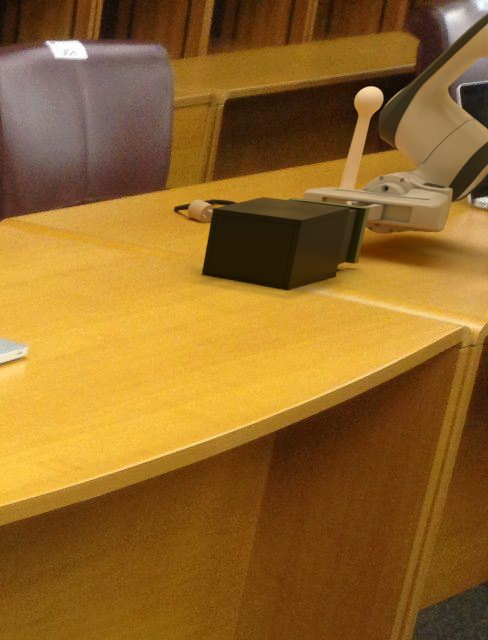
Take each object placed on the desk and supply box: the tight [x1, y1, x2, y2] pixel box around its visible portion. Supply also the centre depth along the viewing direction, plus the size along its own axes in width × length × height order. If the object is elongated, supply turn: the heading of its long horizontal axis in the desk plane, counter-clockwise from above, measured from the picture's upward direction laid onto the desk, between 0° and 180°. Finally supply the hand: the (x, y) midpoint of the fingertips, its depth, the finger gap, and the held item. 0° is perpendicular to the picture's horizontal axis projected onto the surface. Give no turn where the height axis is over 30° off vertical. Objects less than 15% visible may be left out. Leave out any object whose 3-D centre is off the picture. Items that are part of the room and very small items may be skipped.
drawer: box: [288, 197, 370, 265], centre depth 221 cm, size 18×11×8 cm, turn 132°
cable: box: [173, 198, 237, 223], centre depth 260 cm, size 16×16×4 cm
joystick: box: [338, 86, 384, 189], centre depth 263 cm, size 11×8×20 cm
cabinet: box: [201, 196, 350, 291], centre depth 214 cm, size 15×13×10 cm
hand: (351, 213), depth 227 cm, fingers closed
